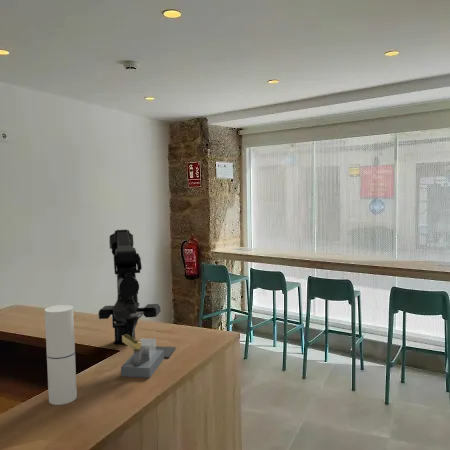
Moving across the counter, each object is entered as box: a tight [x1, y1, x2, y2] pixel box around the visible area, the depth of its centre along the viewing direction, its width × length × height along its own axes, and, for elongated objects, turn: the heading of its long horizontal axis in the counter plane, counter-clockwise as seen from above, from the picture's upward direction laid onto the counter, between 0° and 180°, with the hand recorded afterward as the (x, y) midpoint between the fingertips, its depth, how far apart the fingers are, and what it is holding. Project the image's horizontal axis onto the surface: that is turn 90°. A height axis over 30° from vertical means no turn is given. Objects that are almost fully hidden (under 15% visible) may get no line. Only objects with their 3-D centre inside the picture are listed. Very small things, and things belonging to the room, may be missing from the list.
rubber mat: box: [156, 345, 176, 359], centre depth 153 cm, size 12×9×1 cm
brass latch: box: [122, 334, 141, 352], centre depth 137 cm, size 3×10×2 cm, turn 36°
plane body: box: [120, 350, 165, 379], centre depth 140 cm, size 9×15×8 cm, turn 172°
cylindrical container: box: [44, 304, 78, 406], centre depth 119 cm, size 7×7×25 cm
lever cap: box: [138, 337, 157, 360], centre depth 142 cm, size 5×7×4 cm
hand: (132, 337), depth 141 cm, fingers closed, pressing on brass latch
